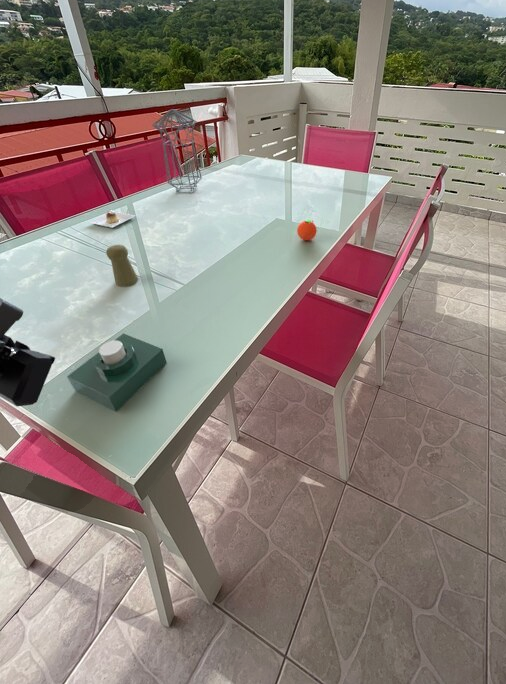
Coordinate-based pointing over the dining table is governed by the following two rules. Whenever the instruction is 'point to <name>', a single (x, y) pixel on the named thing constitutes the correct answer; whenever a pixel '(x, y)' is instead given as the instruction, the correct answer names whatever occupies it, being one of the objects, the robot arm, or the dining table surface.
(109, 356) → the white push button
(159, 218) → the dining table surface
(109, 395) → the green push button box
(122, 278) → the cork
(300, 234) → the clementine
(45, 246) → the dining table surface
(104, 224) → the dessert
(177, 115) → the geometric lantern
